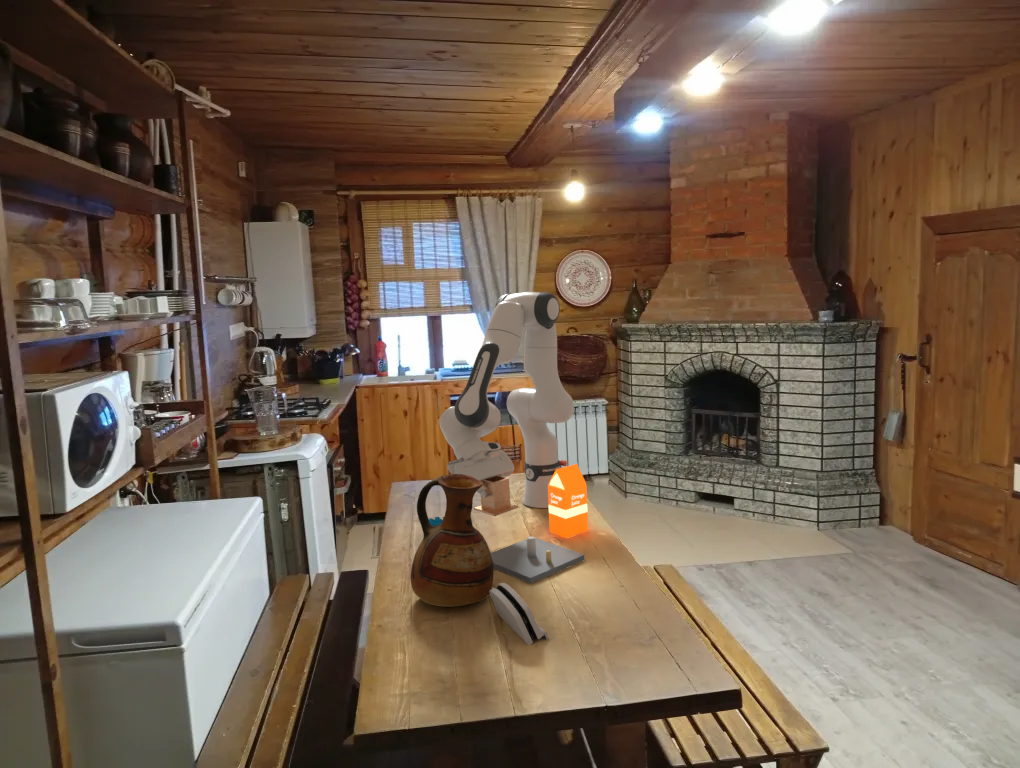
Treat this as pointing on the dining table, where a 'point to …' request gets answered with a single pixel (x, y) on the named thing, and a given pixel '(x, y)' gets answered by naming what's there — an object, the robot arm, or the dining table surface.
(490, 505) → the copper sleeve
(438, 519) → the gear
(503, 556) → the base plate
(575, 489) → the orange juice
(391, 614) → the dining table surface
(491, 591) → the half-moon napkin holder
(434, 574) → the ceramic pitcher
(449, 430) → the robot arm
